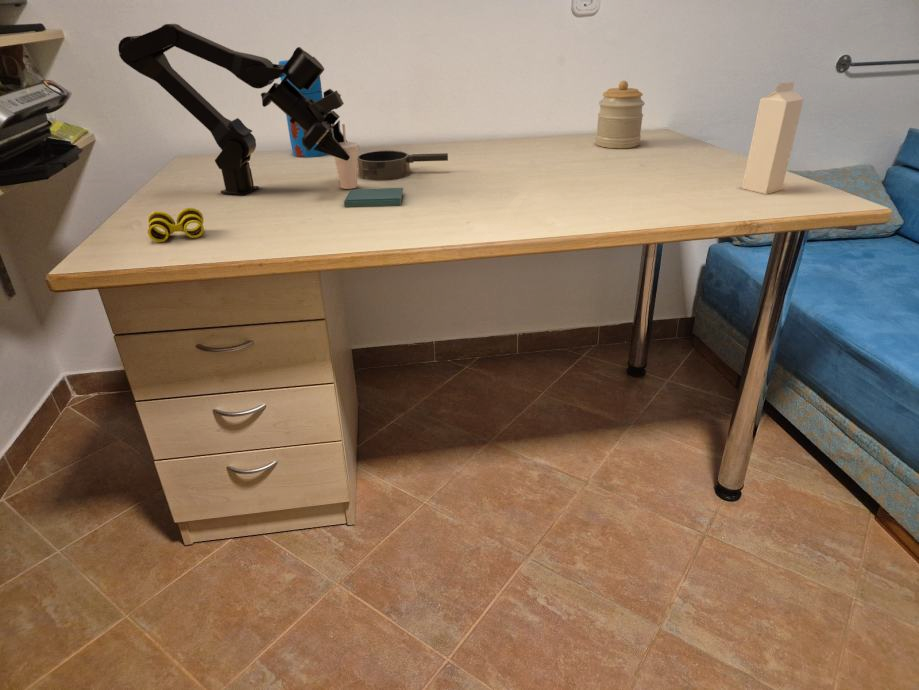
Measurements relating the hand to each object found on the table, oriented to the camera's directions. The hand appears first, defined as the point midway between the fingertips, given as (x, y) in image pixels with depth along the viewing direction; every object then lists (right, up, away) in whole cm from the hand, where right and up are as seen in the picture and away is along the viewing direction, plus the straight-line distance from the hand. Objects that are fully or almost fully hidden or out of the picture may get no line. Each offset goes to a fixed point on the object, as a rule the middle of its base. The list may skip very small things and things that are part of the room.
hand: (350, 156), depth 139 cm
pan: (+6, 0, +16) cm, 17 cm away
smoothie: (-1, -6, +4) cm, 7 cm away
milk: (+93, -9, -5) cm, 94 cm away
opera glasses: (-28, -23, -25) cm, 44 cm away
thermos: (-19, +13, +40) cm, 46 cm away
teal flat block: (+6, -12, -6) cm, 15 cm away
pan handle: (+17, +3, +14) cm, 22 cm away
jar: (+73, +16, +41) cm, 85 cm away
